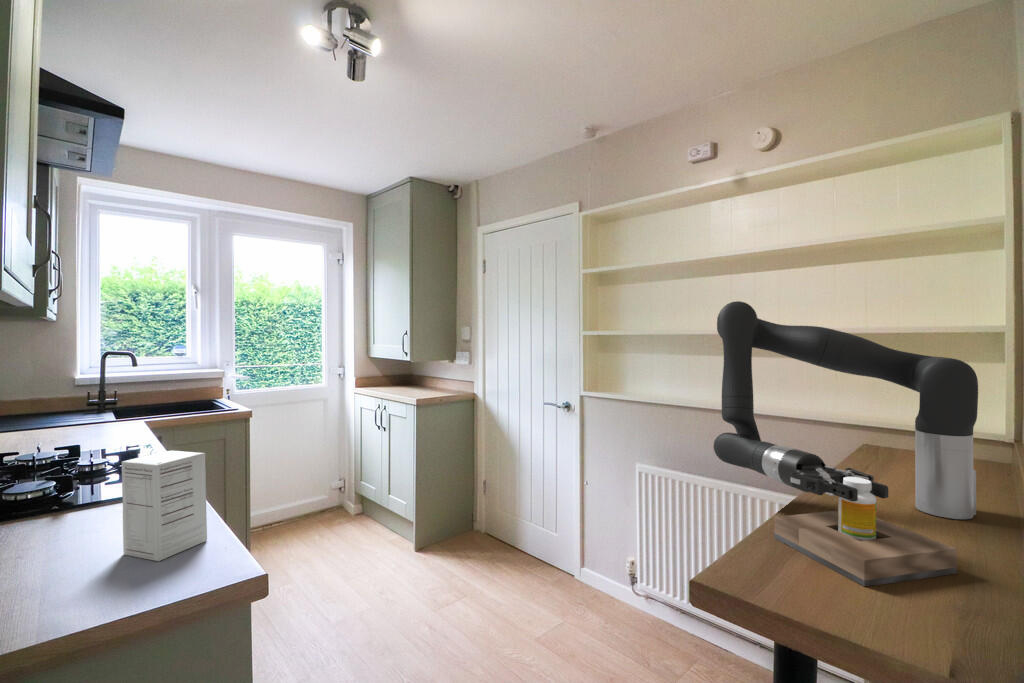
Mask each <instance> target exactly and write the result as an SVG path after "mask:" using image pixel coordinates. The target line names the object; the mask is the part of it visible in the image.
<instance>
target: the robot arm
mask: <svg viewBox="0 0 1024 683" xmlns="http://www.w3.org/2000/svg"><path fill="white" fill-rule="evenodd" d="M716 330H717V334H718V335H719V337H720V338H721V339H722V340H721V341H722V346H723V348H722V349H723V368H722V383H721V418H722V420H723V421H724V422H725V423H728V424H730V425H731V426H733V427H734V428H735V432H736V433H735V432H723V433H720V434H719V435H717V437H715V439H714V442H713V452H714V454H715V455H716V457H717V458H718V459H719V460H721V461H722V462H724V463H726V464H729V465H733V466H736V467H741V468H743V469H748V470H752V471H755V472H756V473H758V474H761V475H763V476H767V477H769V478H771V479H772V480H774V481H777V482H779V483H781V484H784V485H786V486H789V487H791V488H794V489H795V490H796V489H797V490H800V491H801V492H804V493H811V494H814V495H817V496H824V494H826V495H828V496H831V497H832V496H833V497H834V496H837V497H838V496H839V497H841V498H844V499H847V500H850V501H857V500H858V491H857V489H856V488H854V487H851V486H848V485H845V484H843V478H844V477H858V478H863V479H867V480H869V481H871V483H872V489H871V491H870V493H872V494H873V495H874V496H875V497H876V498H881V499H888V498H889V487H888V486H887V485H886V484H883V483H879V482H876V481H874V476H873V475H871V474H868V473H865V472H863V471H859V470H857V469H854V468H851V467H846V468H845V470H844V469H838V468H836V467H835V466H830V465H826V464H825V462H824V459H822V458H821V457H820V456H818V455H816V454H815V453H811V452H807V451H803V450H800V449H797V448H794V447H790V446H786V445H779V444H775V443H771V442H768V441H763V440H761V439H762V438H761V436H760V432H759V429H758V425H757V422H756V420H755V416H754V409H755V408H754V385H753V365H752V364H753V363H752V361H753V360H752V358H753V357H752V356H753V352H752V351H753V349H759V350H763V351H769V352H772V353H775V354H778V355H781V356H784V357H787V358H790V359H794V360H797V361H800V362H805V363H807V364H810V365H814V366H817V367H821V368H824V369H828V370H830V371H835V372H839V373H844V374H848V375H853V376H854V375H855V376H860V377H868V378H874V379H879V380H882V381H883V380H884V381H887V382H889V383H892V384H895V385H898V386H902V387H904V388H907V389H910V390H912V391H914V392H918V393H919V406H918V407H919V409H918V412H917V415H916V417H915V420H914V423H915V424H914V429H915V430H914V431H915V432H914V435H915V436H914V437H915V438H914V441H915V444H914V448H915V449H914V450H915V451H914V452H915V453H914V454H915V455H914V457H915V460H914V461H915V462H914V463H915V464H914V465H915V466H914V467H915V469H914V470H915V471H914V472H915V473H914V474H915V481H914V482H915V490H914V491H915V495H914V496H915V499H914V500H915V509H917V510H918V511H921V512H922V513H926V514H928V515H932V516H934V517H935V516H936V517H941V518H946V519H951V520H952V519H953V520H971V519H973V518H974V516H975V515H977V470H975V469H974V426H975V425H976V423H977V420H978V410H979V409H978V407H979V380H978V376H977V374H976V371H975V370H974V369H973V367H972V366H971V365H969V363H967V362H965V361H963V360H960V359H957V358H952V357H943V356H931V355H927V354H926V355H924V354H918V353H913V352H907V351H903V350H902V351H901V350H899V349H898V350H897V349H894V348H890V347H887V346H884V345H882V344H880V343H877V342H875V341H872V340H870V339H867V338H865V337H862V336H859V335H855V334H851V333H850V332H849V333H848V332H844V331H841V330H836V329H833V328H829V327H828V328H827V327H823V326H815V325H786V324H778V323H774V322H771V321H767V320H765V319H761V318H759V317H758V315H757V312H756V311H755V309H754V308H753V307H752V305H750V304H749V303H746V302H743V301H738V300H737V301H732V302H729V303H727V304H726V305H724V306H723V307H722V308H721V310H720V311H719V313H718V314H717V320H716Z"/></svg>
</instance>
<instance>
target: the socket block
mask: <svg viewBox="0 0 1024 683" xmlns="http://www.w3.org/2000/svg"><path fill="white" fill-rule="evenodd" d="M773 524H774V530H773V531H774V537H773V538H774V539H775V540H778V541H779V542H781V543H782V544H784V543H785V545H786V544H787V545H786V546H788V545H789V546H788V547H790V548H792V549H794V550H795V551H796V552H799V553H801V554H803V555H805V556H807V557H809V559H810V558H811V559H813V560H814V561H816V562H818V563H820V564H822V565H824V566H825V567H827V568H828V569H831V570H832V571H834V572H837V573H838V574H840V575H842V576H844V578H847V579H849V580H851V581H853V582H854V581H855V583H856V582H857V583H856V584H858V583H859V585H860V584H861V585H860V586H862V585H863V586H862V587H864V586H867V587H871V586H870V585H874V586H879V585H885V584H894V583H901V582H909V581H915V580H920V579H927V578H934V577H942V576H949V575H955V574H957V570H958V568H957V566H958V565H957V562H958V561H957V560H958V555H957V552H958V551H957V549H958V548H956V547H954V546H951V545H948V544H946V543H944V542H941V541H938V540H935V539H933V538H930V537H928V536H925V535H922V534H920V533H917V532H915V531H912V530H909V529H907V528H903V527H901V526H900V525H896V524H893V523H891V522H888V521H885V520H883V519H880V518H878V517H876V539H874V540H865V541H859V540H856V539H854V538H852V537H850V536H847V535H845V534H843V533H841V532H839V531H838V510H830V511H820V512H819V511H818V512H809V513H800V514H799V513H798V514H790V515H780V516H779V515H778V516H774V523H773Z"/></svg>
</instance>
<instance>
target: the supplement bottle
mask: <svg viewBox="0 0 1024 683" xmlns="http://www.w3.org/2000/svg"><path fill="white" fill-rule="evenodd" d="M843 484H845V485H848V486H851V487H854V488H856V489H857V491H858V500H857V501H850V500H847V499H844V498H841V497H839V496H837V500H838V501H837V502H838V503H837V504H838V505H837V506H838V507H837V511H838V531H839V532H841V533H843V534H845V535H847V536H850V537H852V538H854V539H856V540H859V541H865V540H874V539H876V518H877V496H874V495H873V494H872V493H870V491H871V489H872V483H871V481H869V480H867V479H863V478H858V477H844V478H843Z"/></svg>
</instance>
